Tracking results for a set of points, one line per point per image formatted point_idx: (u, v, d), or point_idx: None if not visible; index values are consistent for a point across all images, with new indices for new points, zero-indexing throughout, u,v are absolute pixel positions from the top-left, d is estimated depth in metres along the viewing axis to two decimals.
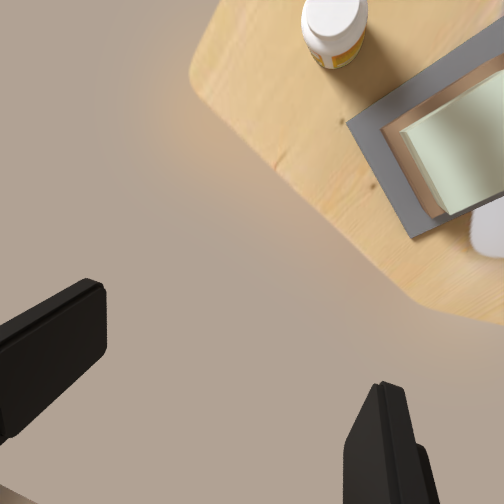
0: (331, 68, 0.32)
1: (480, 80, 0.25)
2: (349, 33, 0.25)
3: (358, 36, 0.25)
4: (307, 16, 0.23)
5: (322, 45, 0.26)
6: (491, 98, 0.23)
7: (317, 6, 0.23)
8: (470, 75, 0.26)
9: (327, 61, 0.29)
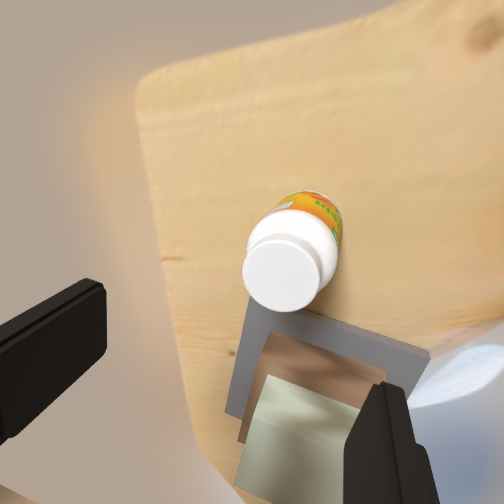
0: None
1: (356, 407, 0.23)
2: None
3: None
4: (247, 258, 0.15)
5: None
6: (332, 463, 0.20)
7: (264, 262, 0.15)
8: (353, 397, 0.22)
9: None
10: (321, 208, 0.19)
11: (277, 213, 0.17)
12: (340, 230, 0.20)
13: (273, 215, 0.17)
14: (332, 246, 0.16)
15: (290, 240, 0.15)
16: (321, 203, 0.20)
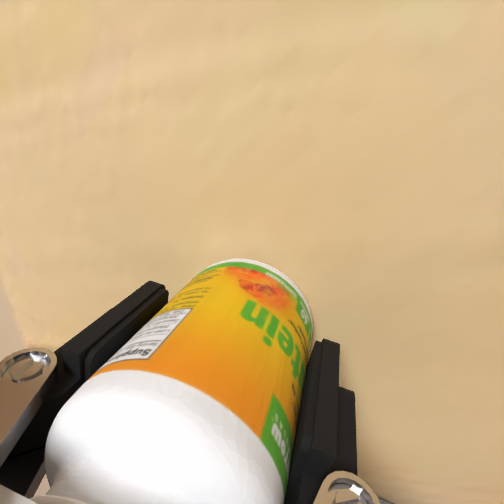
0: None
1: None
2: None
3: None
4: None
5: None
6: None
7: None
8: None
9: None
10: (251, 334, 0.08)
11: (104, 388, 0.06)
12: (303, 361, 0.09)
13: (93, 394, 0.06)
14: None
15: None
16: (258, 309, 0.09)
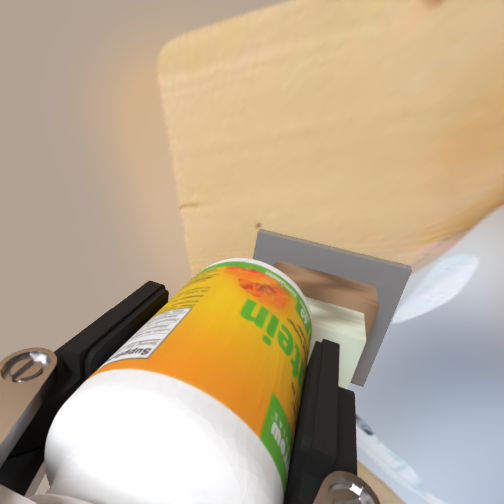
0: None
1: (351, 308, 0.27)
2: None
3: None
4: None
5: None
6: None
7: None
8: (348, 299, 0.27)
9: None
10: (251, 333, 0.08)
11: (104, 387, 0.06)
12: (303, 360, 0.09)
13: (92, 393, 0.06)
14: None
15: None
16: (258, 308, 0.09)
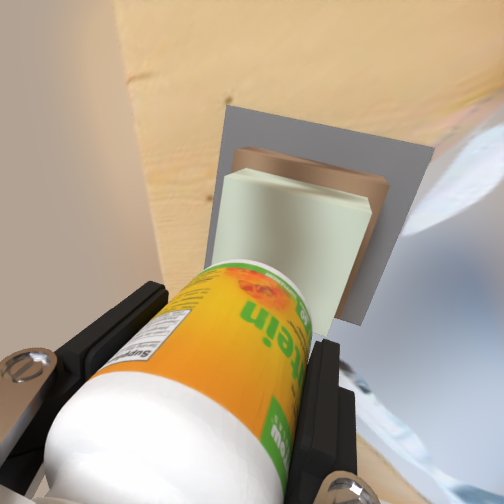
0: None
1: (349, 191, 0.19)
2: None
3: None
4: None
5: None
6: (321, 222, 0.16)
7: None
8: (346, 177, 0.19)
9: None
10: (251, 335, 0.08)
11: (104, 389, 0.06)
12: (303, 362, 0.09)
13: (92, 395, 0.06)
14: None
15: None
16: (258, 310, 0.09)
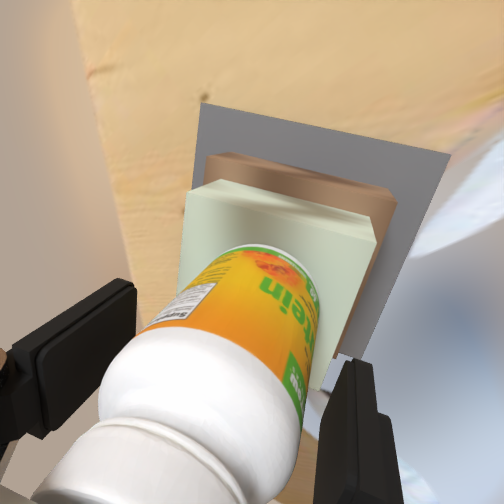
0: None
1: (347, 208, 0.15)
2: None
3: None
4: None
5: None
6: (310, 253, 0.13)
7: None
8: (343, 191, 0.15)
9: None
10: (270, 303, 0.09)
11: (153, 340, 0.07)
12: (313, 332, 0.11)
13: (143, 344, 0.07)
14: (280, 433, 0.07)
15: (134, 482, 0.05)
16: (274, 284, 0.10)
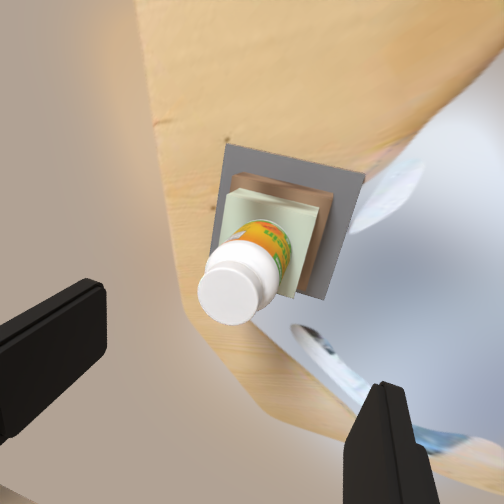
0: None
1: (307, 203, 0.29)
2: None
3: None
4: (201, 282, 0.19)
5: None
6: (286, 223, 0.26)
7: (214, 285, 0.19)
8: (305, 194, 0.29)
9: None
10: (268, 237, 0.23)
11: (228, 243, 0.21)
12: (287, 254, 0.24)
13: (225, 245, 0.21)
14: (272, 270, 0.20)
15: (234, 267, 0.18)
16: (269, 232, 0.24)
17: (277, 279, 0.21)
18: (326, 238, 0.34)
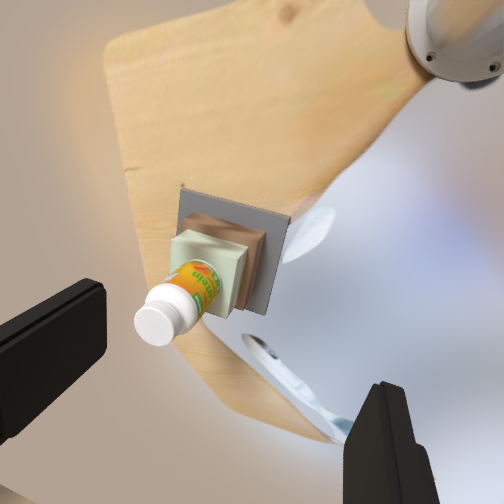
0: None
1: (239, 243, 0.37)
2: None
3: None
4: (135, 316, 0.27)
5: None
6: (216, 262, 0.34)
7: (144, 319, 0.27)
8: (237, 236, 0.37)
9: None
10: (193, 278, 0.30)
11: (159, 286, 0.28)
12: (211, 289, 0.32)
13: (157, 287, 0.28)
14: (189, 306, 0.28)
15: (157, 307, 0.26)
16: (197, 273, 0.31)
17: (194, 312, 0.28)
18: (263, 266, 0.42)
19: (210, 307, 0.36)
